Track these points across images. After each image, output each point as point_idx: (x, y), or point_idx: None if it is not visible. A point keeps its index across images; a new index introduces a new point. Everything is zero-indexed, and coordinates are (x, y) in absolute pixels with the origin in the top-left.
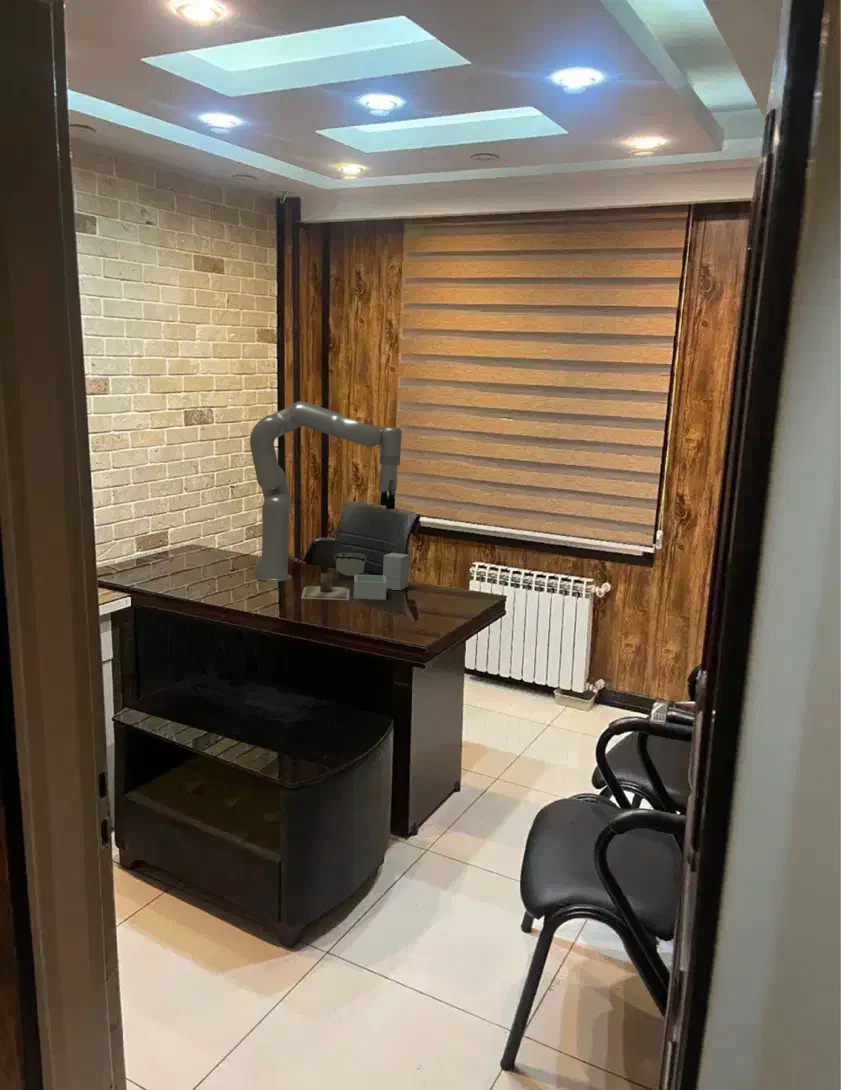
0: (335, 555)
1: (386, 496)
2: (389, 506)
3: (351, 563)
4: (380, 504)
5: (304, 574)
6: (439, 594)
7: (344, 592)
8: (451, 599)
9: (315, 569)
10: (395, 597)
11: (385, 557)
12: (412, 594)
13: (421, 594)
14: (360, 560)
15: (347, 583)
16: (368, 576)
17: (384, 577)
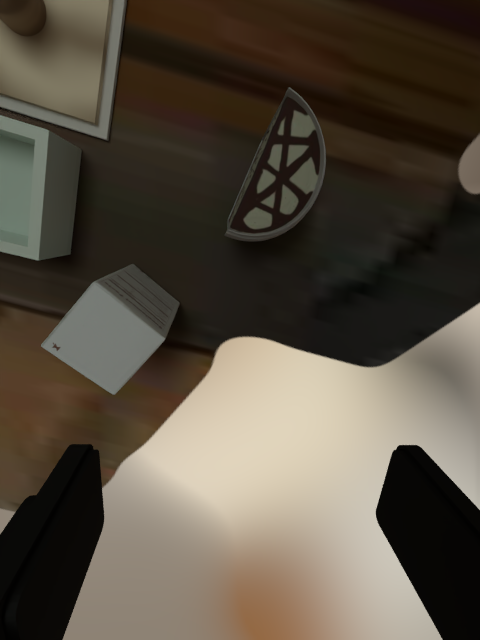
0: (288, 89)
1: (461, 623)
2: (26, 503)
3: (250, 175)
4: (407, 449)
5: (379, 29)
6: (72, 405)
7: (8, 87)
8: (15, 419)
9: (447, 103)
10: (23, 274)
11: (89, 287)
12: None
13: None
14: (236, 210)
15: (219, 166)
16: (33, 189)
17: (5, 247)
